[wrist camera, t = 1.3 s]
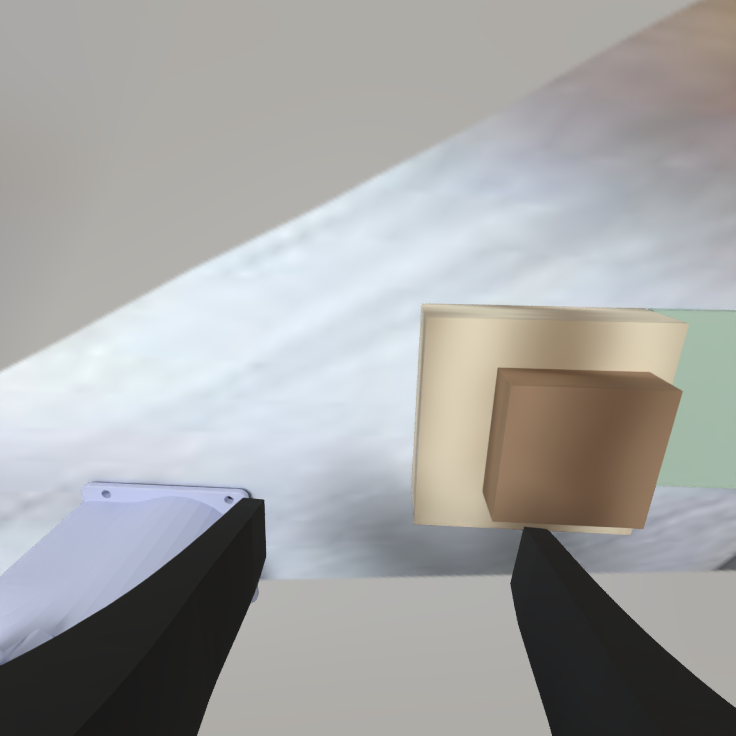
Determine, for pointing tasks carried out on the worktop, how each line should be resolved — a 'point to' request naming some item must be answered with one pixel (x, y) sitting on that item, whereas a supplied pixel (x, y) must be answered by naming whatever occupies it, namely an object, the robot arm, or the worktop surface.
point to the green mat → (704, 403)
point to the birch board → (478, 379)
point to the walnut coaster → (577, 446)
